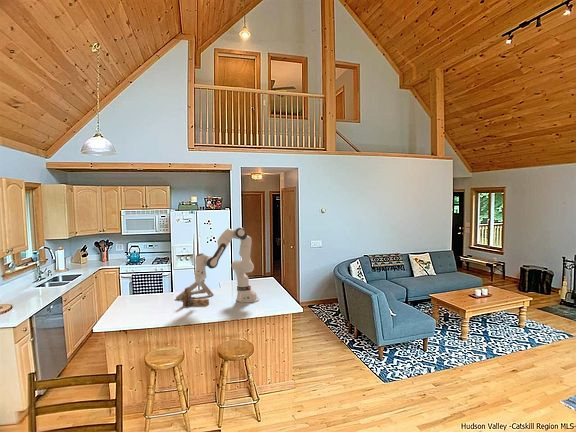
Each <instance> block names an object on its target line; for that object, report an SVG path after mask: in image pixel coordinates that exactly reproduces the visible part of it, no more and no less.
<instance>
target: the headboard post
mask: <svg viewBox="0 0 576 432" xmlns="http://www.w3.org/2000/svg"><path fill="white" fill-rule="evenodd" d="M184 290H185V293H184V294H183V298H182V307H183V308H186V307H193V306H194V305H193V304H192V299H190V298H191V297H192V298H193V299H196V297H194V296H192V295H191V292H192V291H191V290H190V287H189V286H188V287H186V288H184Z"/></svg>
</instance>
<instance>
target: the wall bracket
mask: <svg viewBox="0 0 576 432" xmlns="http://www.w3.org/2000/svg"><path fill="white" fill-rule="evenodd" d="M200 284H201V289H196V288H197V287H199V285H198V283H196V281H194V282H193V283H192V284H190V285H189V286H188V287H190V290H191V296H193V295H199V294H207V295H208V296H211V297H214V293H213V292H212V291H211V289H210V288H209V286H207V284H206V283H205V282H204V284H202V281H201V283H200ZM194 289H196V290H194ZM184 293H185V289H184V290H183V291H182V292H181V293H179V294H178V295H176V296H175V299H176V300H179V301H180V300H183V294H184Z"/></svg>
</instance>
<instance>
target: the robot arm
mask: <svg viewBox="0 0 576 432" xmlns="http://www.w3.org/2000/svg"><path fill="white" fill-rule="evenodd" d="M233 239H237V240H240V245H239V251H238V254H239V257H240V258H241V259H240V260H239V259H237V260H234V261H232V263H231V269H232V270H233V271H234V273H235V275H236V281H237V283H236V284H237V286H236V292H237V293H236V294H237V295H236V301H237V302H238V303H240V304H241V303H242V304H244V303H257V302H258V301H259V300H260V297H259V296H258V295H257V292H256V291H254V290H253V289H252V285H250V283H249V282H250V281H249V276H248V275H247V273H252V272H253V271H254V269H255V265H254V263H253V262H252V258H251V252H252V243H253V242H252V237H251V236H249V235H248V234H247V231H246V229H245V228H243V227H238V228H235V229H231V228H226V229H225V230H224V231H223V232H222V233H221V234H220V236H219V238H218V240H217V249H216V251H215V252H214V254H213V256H212V255H208V254H206V253H198V254H196V255H195V260H194V261H195V262H194V263H195V271H194V277H195V278H194V280H195V281H194V282H196V283H198V287H199V288H200V287H201V284H200V283H201V281H202V284H204V283H205V281H206V280H205V279H207V270H206V267H208V268H209V269H212V270H213V269H215V268H217V267H218V264H219V261H220V258H221V257H222V255H223V254H224V252H225V250H226V249H227V247H228V245H229V244H230V243H231V242H232V240H233ZM201 288H202V287H201Z"/></svg>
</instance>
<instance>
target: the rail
mask: <svg viewBox="0 0 576 432" xmlns="http://www.w3.org/2000/svg"><path fill="white" fill-rule="evenodd" d="M192 297H193V296H191V298H190V299H192V304H193V305H192V306H209V305H210V300H209V298H195V299H193V298H192Z"/></svg>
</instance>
